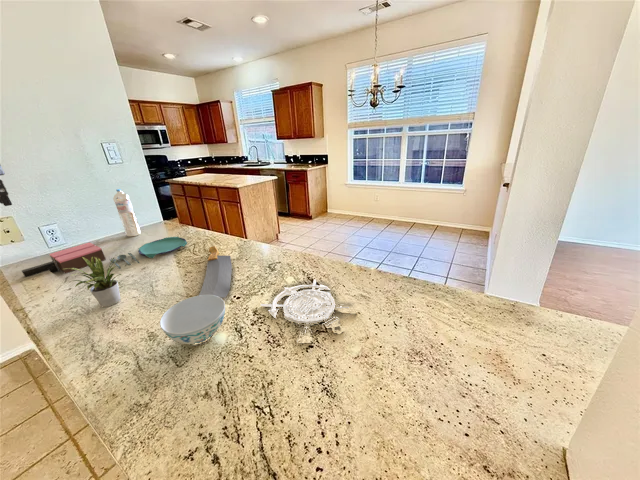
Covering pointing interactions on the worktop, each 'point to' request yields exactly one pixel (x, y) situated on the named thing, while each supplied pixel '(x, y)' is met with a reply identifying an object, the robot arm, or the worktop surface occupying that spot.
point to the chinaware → (193, 319)
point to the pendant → (305, 304)
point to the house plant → (101, 283)
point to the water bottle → (126, 214)
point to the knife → (41, 269)
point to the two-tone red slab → (77, 256)
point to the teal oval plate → (155, 248)
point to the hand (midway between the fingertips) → (6, 204)
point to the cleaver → (217, 275)
